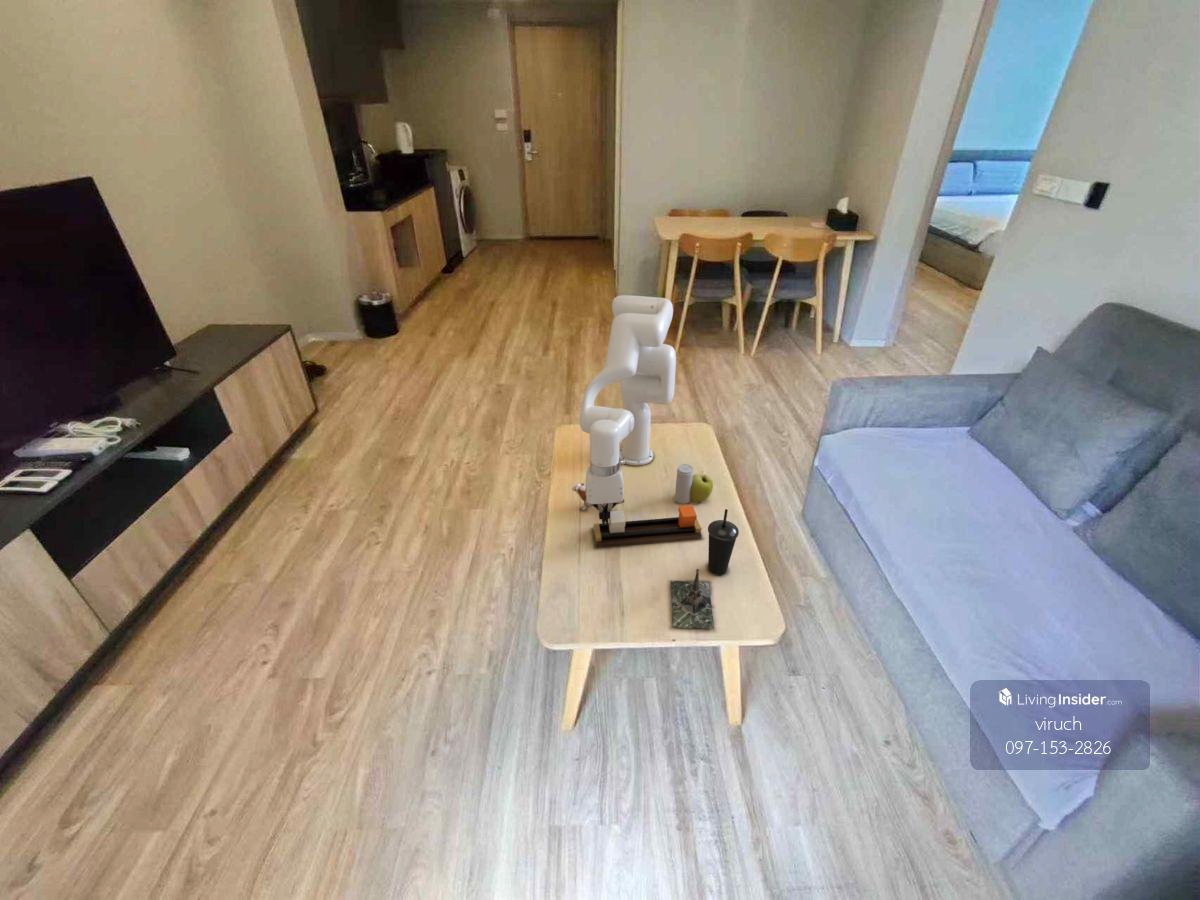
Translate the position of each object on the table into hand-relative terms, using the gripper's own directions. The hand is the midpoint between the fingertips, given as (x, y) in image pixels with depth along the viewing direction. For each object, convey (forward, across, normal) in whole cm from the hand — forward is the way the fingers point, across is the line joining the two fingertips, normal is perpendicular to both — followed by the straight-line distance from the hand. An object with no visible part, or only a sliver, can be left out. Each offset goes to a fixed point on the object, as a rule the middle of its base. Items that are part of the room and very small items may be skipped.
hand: (604, 520), depth 149 cm
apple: (+7, -32, -15) cm, 36 cm away
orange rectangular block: (+5, -24, 0) cm, 24 cm away
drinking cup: (+7, -28, +16) cm, 33 cm away
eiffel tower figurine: (+7, -18, +27) cm, 33 cm away
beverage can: (+7, -26, -15) cm, 31 cm away
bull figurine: (+7, +2, -14) cm, 16 cm away
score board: (+7, -12, 0) cm, 14 cm away
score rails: (+5, -12, 0) cm, 13 cm away
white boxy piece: (+5, -4, 0) cm, 6 cm away
